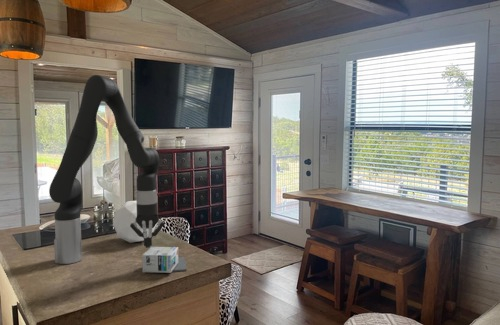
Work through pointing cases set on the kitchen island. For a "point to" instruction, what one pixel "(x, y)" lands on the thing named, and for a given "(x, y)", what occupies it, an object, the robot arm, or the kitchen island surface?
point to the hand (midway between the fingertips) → (148, 247)
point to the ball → (127, 222)
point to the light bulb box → (160, 259)
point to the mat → (179, 265)
